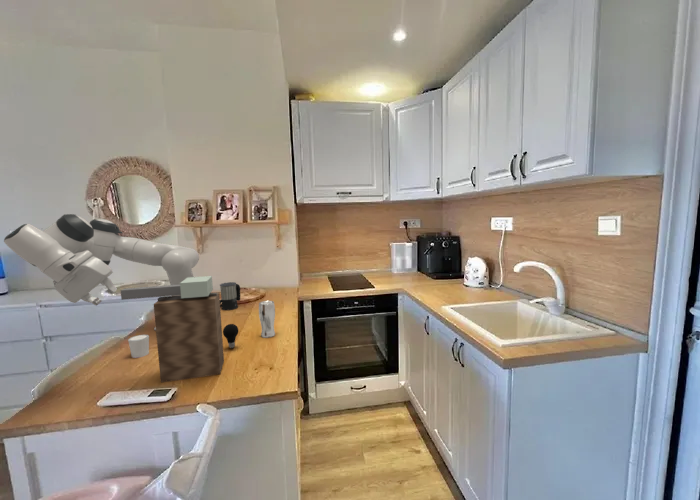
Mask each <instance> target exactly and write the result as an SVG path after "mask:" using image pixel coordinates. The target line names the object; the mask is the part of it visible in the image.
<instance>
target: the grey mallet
mask: <svg viewBox="0 0 700 500" xmlns="http://www.w3.org/2000/svg"><path fill="white" fill-rule="evenodd" d="M213 290H214V287H213V276H212V275H208V276H207V275H205V276H193V277H189V278H186V279H185V280H183V281H182V282H181V283H180V285H170V284H169V285H156V286H153V285H152V286H141V287H127V288H123V289H120V299H121V300H134V299H136V300H137V299H145V298H146V299H147V298H159V297H166V296H174V295H181V298H192V297H204V296H209V294H210V293H213V292H212V291H213Z"/></svg>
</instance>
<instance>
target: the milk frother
mask: <svg viewBox="0 0 700 500" xmlns="http://www.w3.org/2000/svg"><path fill="white" fill-rule="evenodd" d="M219 287H220V298H221V299H220V310H222V311H233V310H237V308H239V305H238V302H240V301H241V286H240V285H239V284H238V283H237V282H223V283H220V284H219Z"/></svg>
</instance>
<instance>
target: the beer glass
mask: <svg viewBox="0 0 700 500" xmlns="http://www.w3.org/2000/svg"><path fill="white" fill-rule="evenodd" d="M275 307H276V306H275V301H274V300H263V301H260V302H259V303H258V316H259V317H258V318H259V322H260V326H261V335H260V336H261V337H262V338H263V339H264V338H265V339H269V338H273V337H275V335H276V331H275V320H276V319H275V318H276V308H275Z"/></svg>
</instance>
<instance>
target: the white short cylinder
mask: <svg viewBox="0 0 700 500" xmlns="http://www.w3.org/2000/svg"><path fill="white" fill-rule="evenodd" d="M127 341H128V345H129V350H130V354H131V355H130V356H131V358H134V359H135V358H136V359H137V358H142V357H146V356H148V355H149V351H150V349H149V348H150V336H149V334H138V335H134V336H131V337H129V338H128V339H127Z"/></svg>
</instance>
